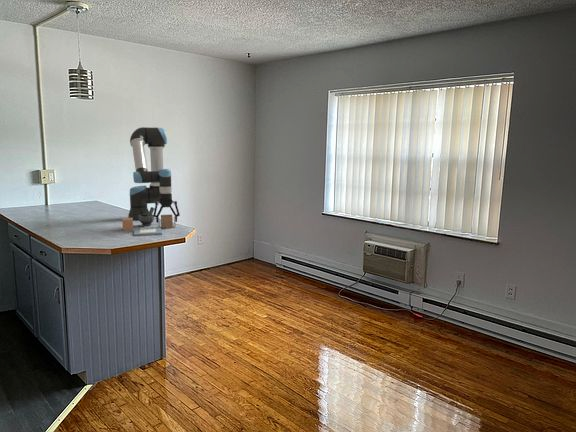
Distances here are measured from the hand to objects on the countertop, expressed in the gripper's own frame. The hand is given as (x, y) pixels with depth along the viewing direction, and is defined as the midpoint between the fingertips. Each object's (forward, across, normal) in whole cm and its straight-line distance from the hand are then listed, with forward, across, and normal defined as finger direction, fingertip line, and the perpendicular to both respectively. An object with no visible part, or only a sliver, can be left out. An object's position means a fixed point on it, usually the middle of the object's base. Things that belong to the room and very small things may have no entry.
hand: (167, 227), depth 289 cm
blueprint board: (0, -12, -14) cm, 18 cm away
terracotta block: (0, -24, 0) cm, 24 cm away
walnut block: (0, 0, 0) cm, 0 cm away
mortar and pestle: (0, -12, +10) cm, 16 cm away
